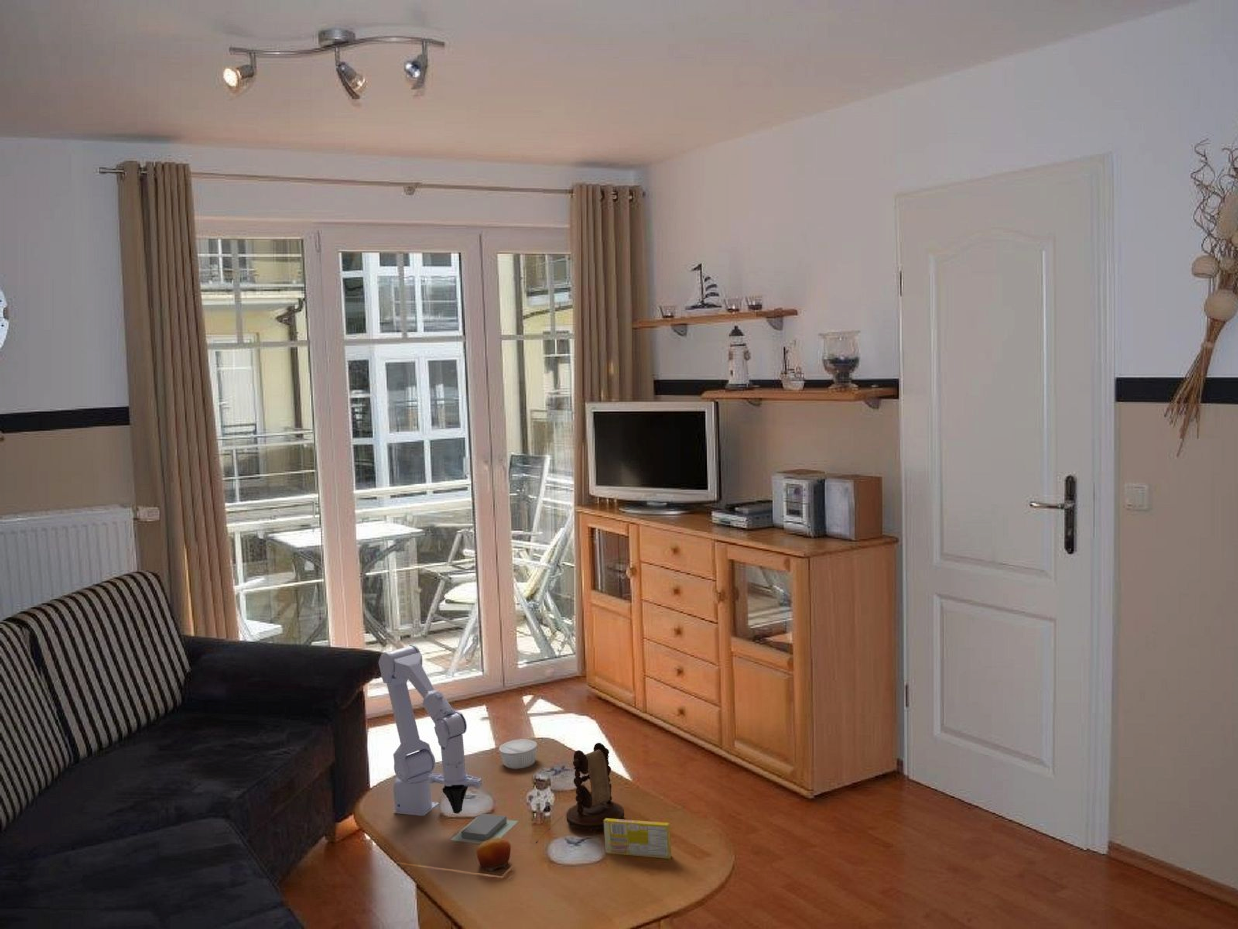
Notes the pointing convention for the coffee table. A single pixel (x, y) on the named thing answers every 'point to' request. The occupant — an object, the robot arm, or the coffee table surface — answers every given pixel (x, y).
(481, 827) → the slate tile
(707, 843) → the coffee table surface
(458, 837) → the felt mat
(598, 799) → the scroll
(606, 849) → the candy box
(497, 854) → the fruit
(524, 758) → the ramekin
